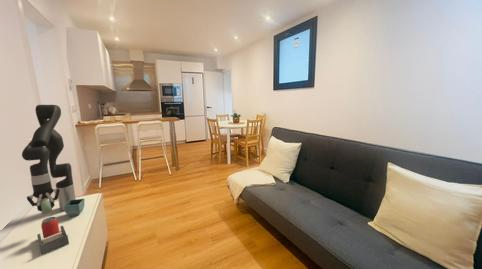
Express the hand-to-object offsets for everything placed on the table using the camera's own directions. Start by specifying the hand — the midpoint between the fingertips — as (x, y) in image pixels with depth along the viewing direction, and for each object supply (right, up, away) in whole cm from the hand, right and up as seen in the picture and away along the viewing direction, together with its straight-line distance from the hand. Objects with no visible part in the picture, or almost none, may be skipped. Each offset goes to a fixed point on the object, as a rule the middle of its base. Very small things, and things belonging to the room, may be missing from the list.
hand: (46, 209), depth 115 cm
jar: (0, -2, 0) cm, 2 cm away
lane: (+10, -16, -7) cm, 20 cm away
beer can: (+7, -16, -4) cm, 18 cm away
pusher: (+10, -16, -7) cm, 20 cm away
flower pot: (0, -12, +21) cm, 24 cm away
